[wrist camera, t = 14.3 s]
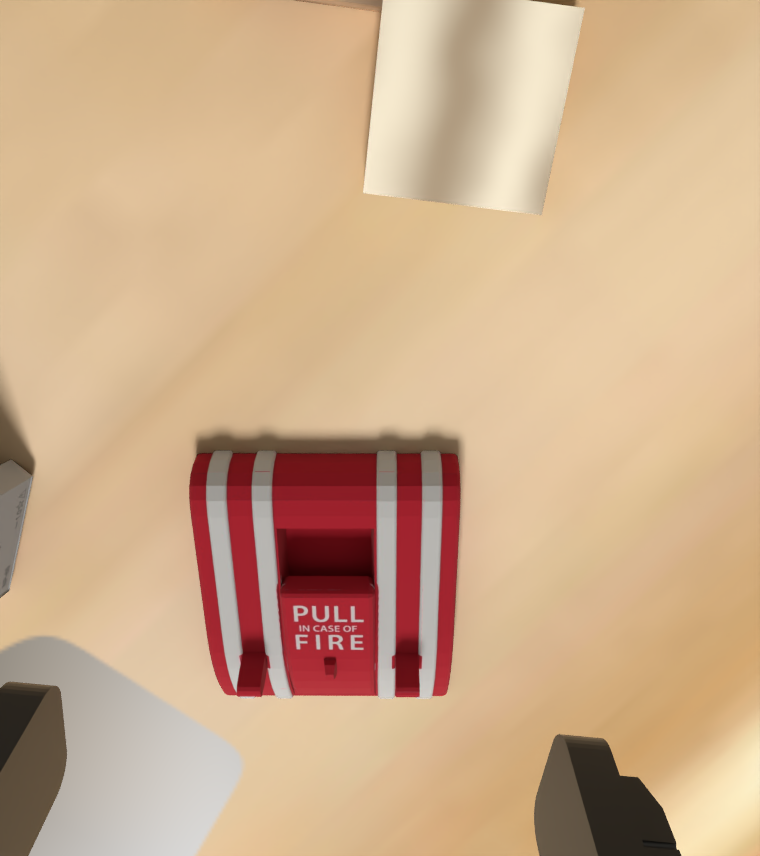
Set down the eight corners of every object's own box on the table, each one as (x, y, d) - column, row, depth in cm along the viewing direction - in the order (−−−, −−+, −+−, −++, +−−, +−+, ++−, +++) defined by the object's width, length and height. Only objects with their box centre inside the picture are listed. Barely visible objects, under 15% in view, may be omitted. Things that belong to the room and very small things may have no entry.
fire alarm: (209, 754, 46) (170, 494, 38) (227, 687, 52) (197, 446, 43) (452, 755, 46) (467, 495, 38) (445, 688, 52) (457, 446, 43)
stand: (573, 13, 33) (584, 8, 31) (534, 209, 37) (541, 215, 35) (384, -13, 33) (384, -20, 31) (364, 188, 36) (363, 193, 34)
